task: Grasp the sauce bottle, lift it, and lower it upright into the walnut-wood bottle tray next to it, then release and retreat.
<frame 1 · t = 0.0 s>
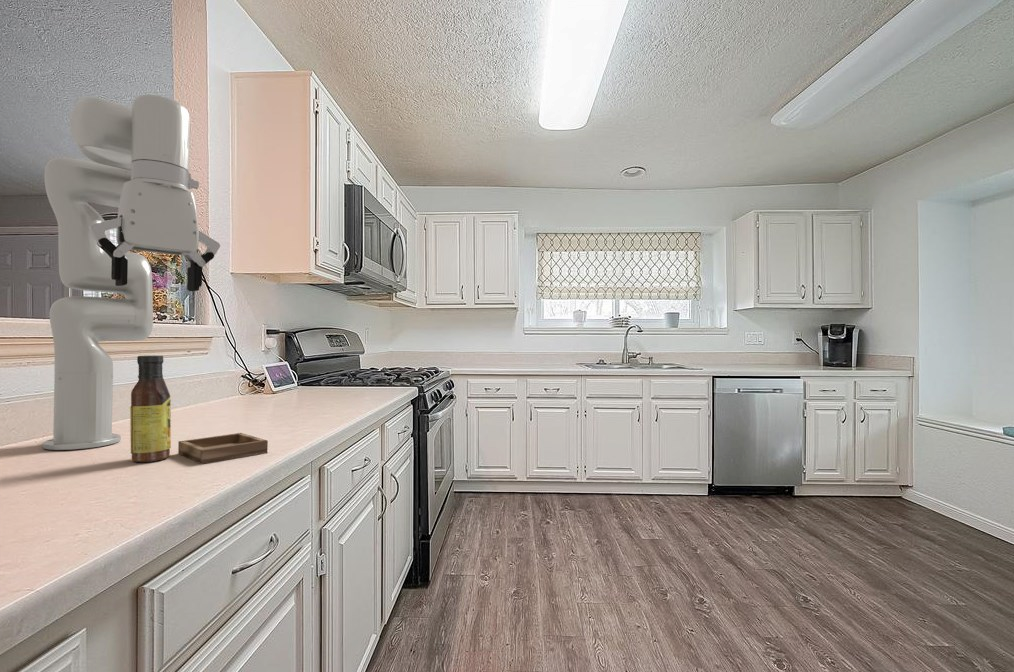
hand: (158, 288, 78), 31 cm above the countertop, tool pointing down, fingers open, 9 cm apart
sauce bottle: (150, 460, 94), on the countertop
bottle tray: (223, 453, 99), on the countertop
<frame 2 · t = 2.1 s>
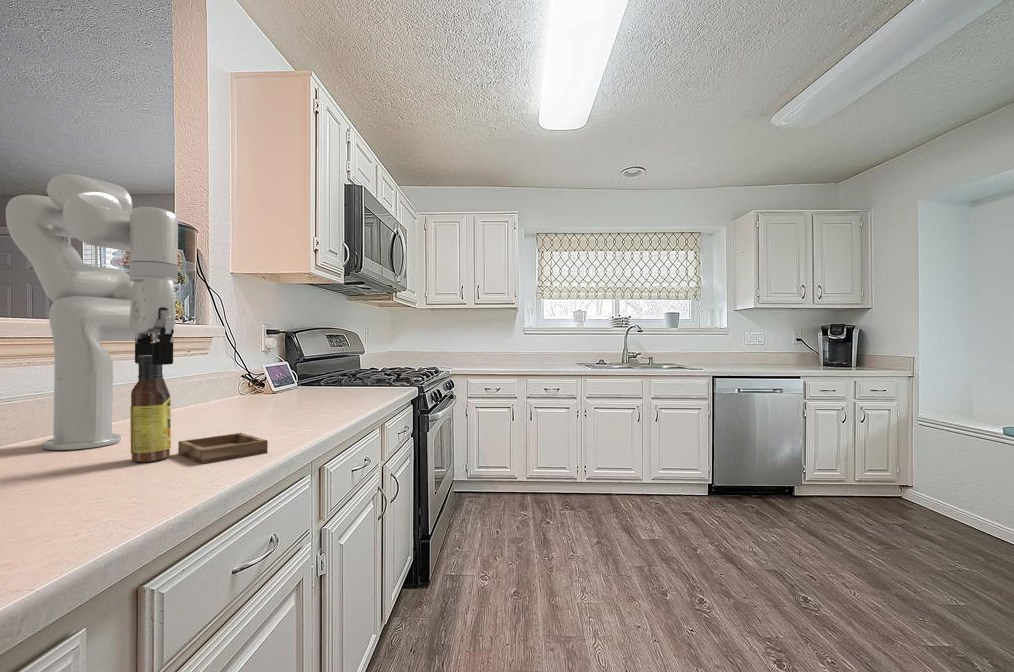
hand: (153, 363, 94), 18 cm above the countertop, tool pointing down, fingers open, 9 cm apart
nothing on the countertop moved.
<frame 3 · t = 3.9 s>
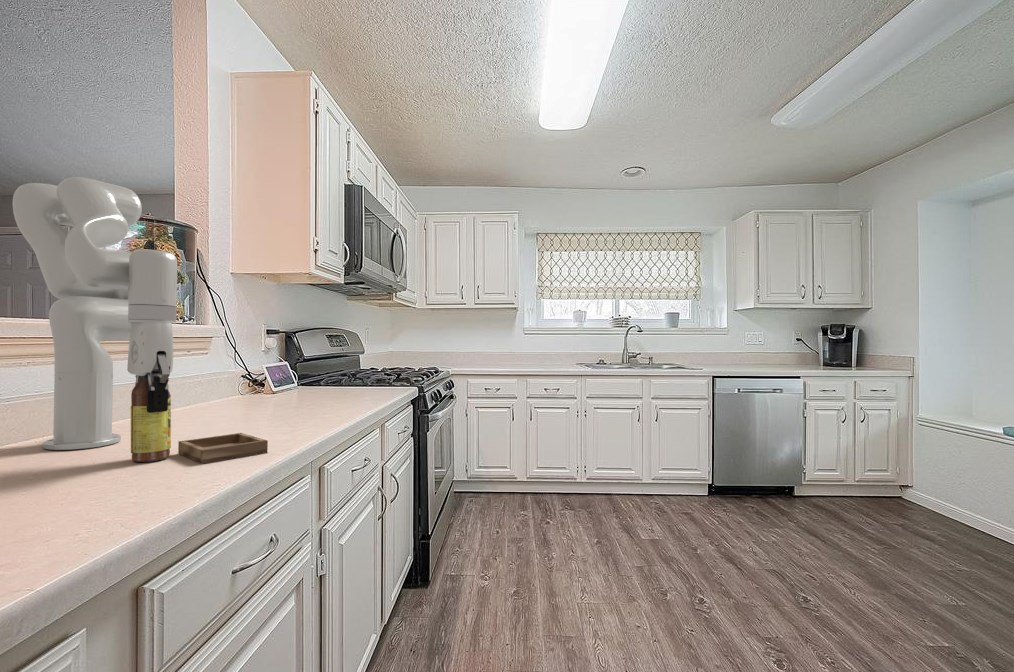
hand: (151, 409, 94), 10 cm above the countertop, tool pointing down, fingers closed on sauce bottle, 6 cm apart
sauce bottle: (150, 460, 94), on the countertop, touching gripper
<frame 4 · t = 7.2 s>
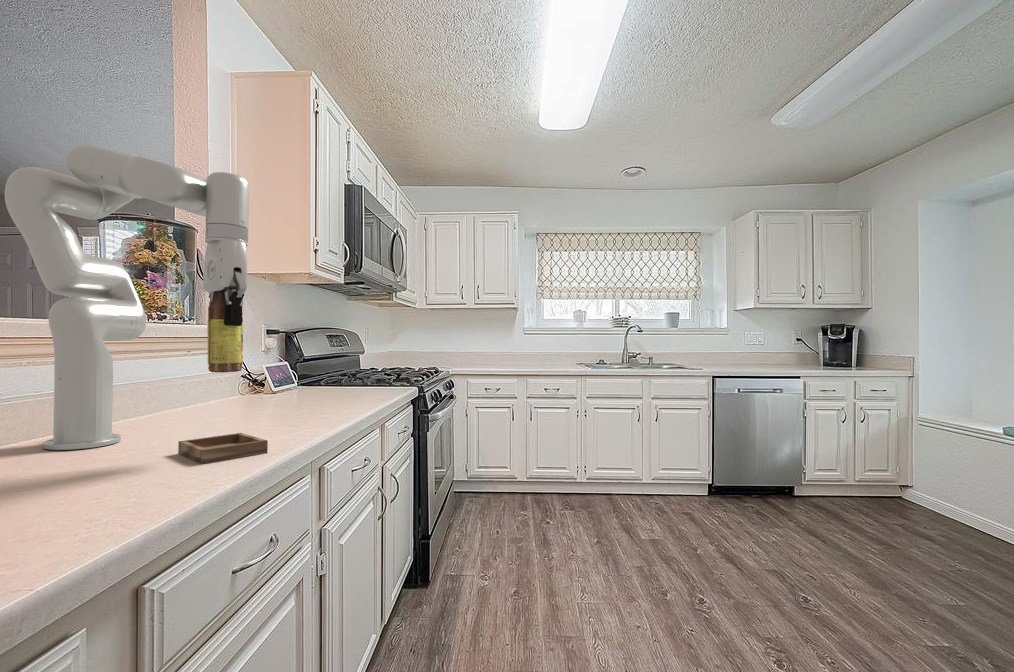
hand: (225, 324, 100), 26 cm above the countertop, tool pointing down, fingers closed on sauce bottle, 6 cm apart
sauce bottle: (224, 372, 100), point 16 cm above the countertop, touching gripper
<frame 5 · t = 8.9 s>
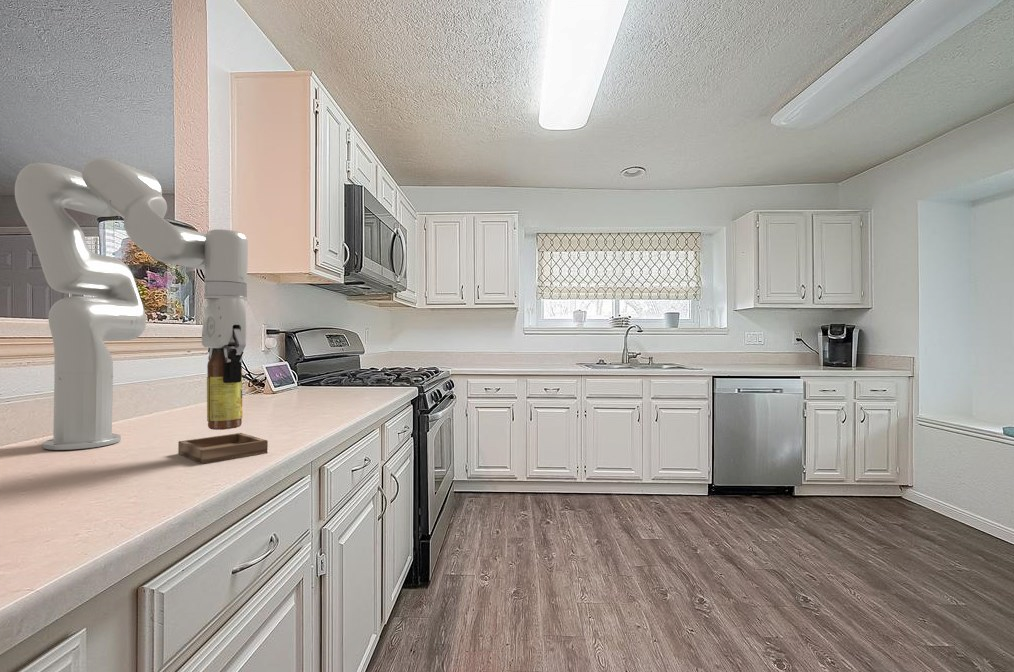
hand: (224, 380, 100), 15 cm above the countertop, tool pointing down, fingers closed on sauce bottle, 6 cm apart
sauce bottle: (224, 428, 99), point 5 cm above the countertop, touching gripper
when the fingers open (12 cm above the countertop, at t = 10.5 s): sauce bottle drops 1 cm, resting on bottle tray.
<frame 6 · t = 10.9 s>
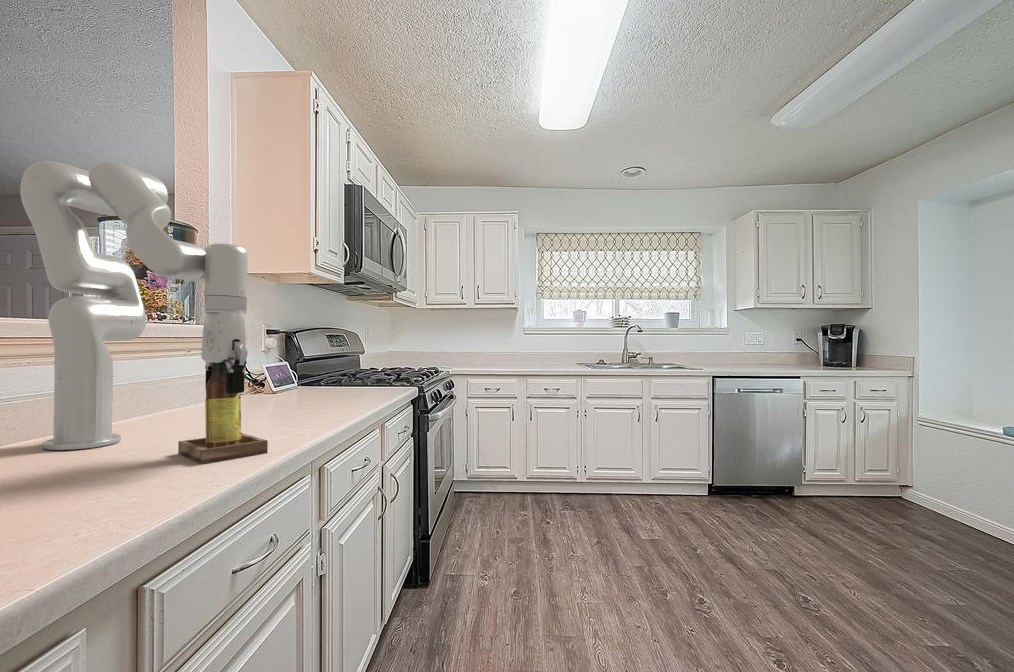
hand: (224, 390, 100), 13 cm above the countertop, tool pointing down, fingers open, 9 cm apart
sauce bottle: (223, 450, 100), point 1 cm above the countertop, touching bottle tray
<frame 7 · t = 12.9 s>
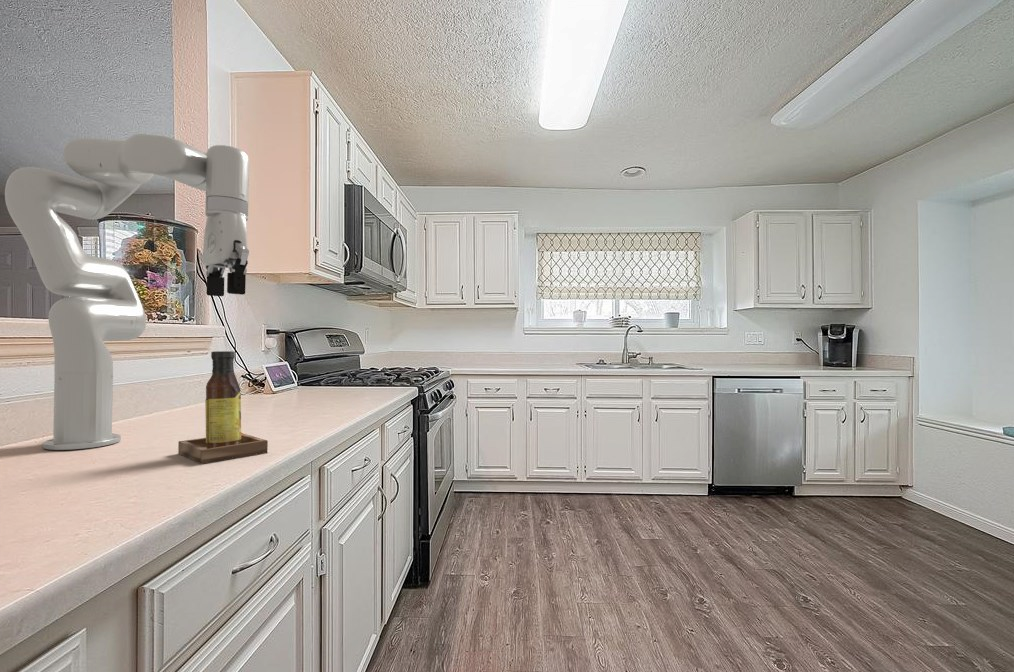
hand: (225, 294, 100), 32 cm above the countertop, tool pointing down, fingers open, 9 cm apart
nothing on the countertop moved.
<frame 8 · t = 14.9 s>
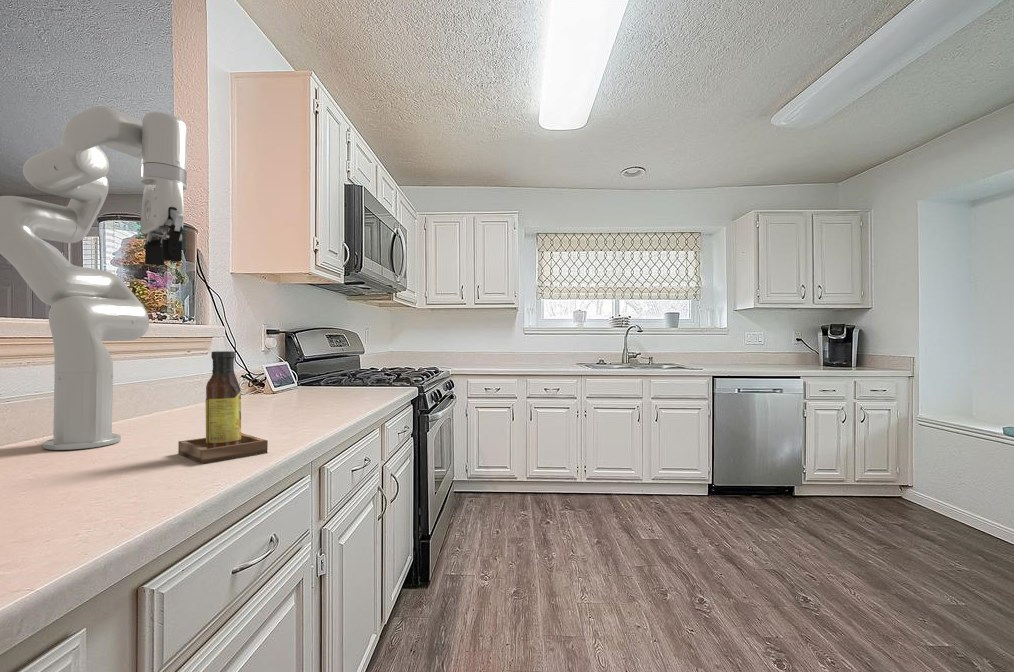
hand: (162, 262, 100), 38 cm above the countertop, tool pointing down, fingers open, 9 cm apart
nothing on the countertop moved.
at the end: sauce bottle 0.1 cm off-centre on the bottle tray, point 0.6 cm above the bottle tray's base; sauce bottle tilted 0°; the gripper is holding nothing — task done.
